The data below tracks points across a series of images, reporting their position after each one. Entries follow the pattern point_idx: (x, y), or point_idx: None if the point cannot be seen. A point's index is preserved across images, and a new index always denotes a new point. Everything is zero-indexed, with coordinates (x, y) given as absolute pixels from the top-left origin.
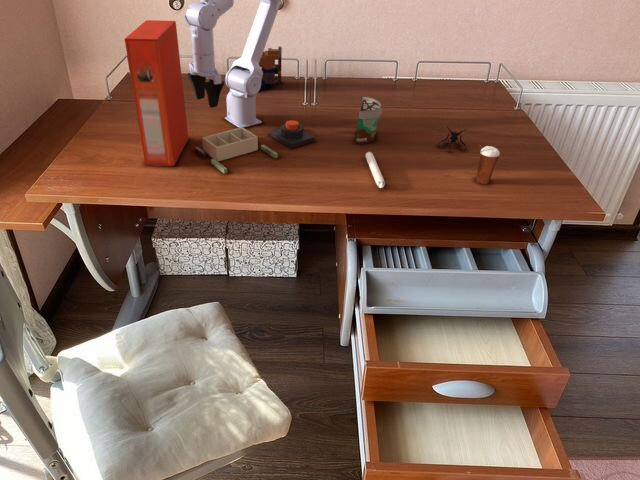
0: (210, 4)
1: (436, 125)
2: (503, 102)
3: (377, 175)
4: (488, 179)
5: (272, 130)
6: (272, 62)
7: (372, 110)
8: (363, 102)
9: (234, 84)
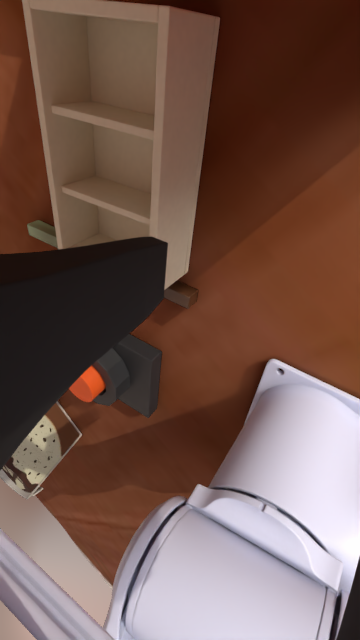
0: None
1: (54, 471)
2: (75, 538)
3: None
4: None
5: (147, 364)
6: None
7: None
8: (21, 480)
9: (251, 587)
